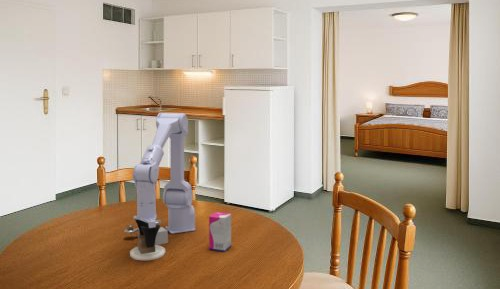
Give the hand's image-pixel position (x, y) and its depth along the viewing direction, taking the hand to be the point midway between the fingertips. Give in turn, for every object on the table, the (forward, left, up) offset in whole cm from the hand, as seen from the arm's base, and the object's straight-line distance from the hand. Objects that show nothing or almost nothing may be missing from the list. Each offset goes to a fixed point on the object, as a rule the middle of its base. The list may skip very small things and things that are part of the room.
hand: (147, 243), depth 145 cm
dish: (0, 0, -4) cm, 4 cm away
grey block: (-6, -9, -4) cm, 11 cm away
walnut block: (0, 0, -2) cm, 2 cm away
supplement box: (-23, +5, -4) cm, 24 cm away
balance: (-2, -17, -4) cm, 18 cm away
